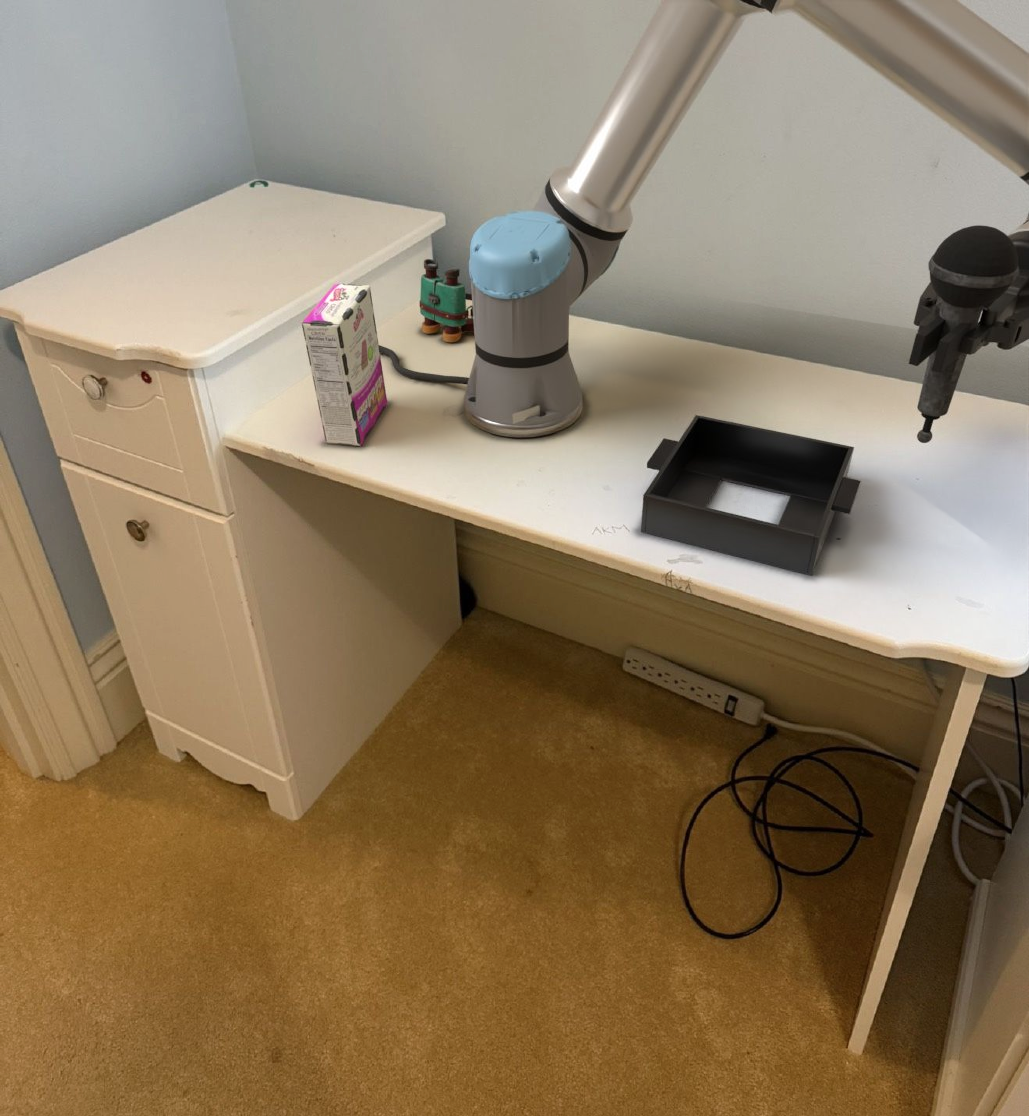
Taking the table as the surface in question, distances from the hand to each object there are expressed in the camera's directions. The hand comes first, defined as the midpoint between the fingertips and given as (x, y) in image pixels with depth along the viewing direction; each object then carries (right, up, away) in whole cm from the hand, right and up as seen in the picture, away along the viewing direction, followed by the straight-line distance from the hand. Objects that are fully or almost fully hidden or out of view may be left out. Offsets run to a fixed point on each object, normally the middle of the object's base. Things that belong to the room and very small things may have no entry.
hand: (928, 353), depth 76 cm
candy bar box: (-55, 0, +42) cm, 69 cm away
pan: (-9, -11, +25) cm, 29 cm away
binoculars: (-43, +18, +63) cm, 79 cm away
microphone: (+4, -6, +10) cm, 13 cm away
